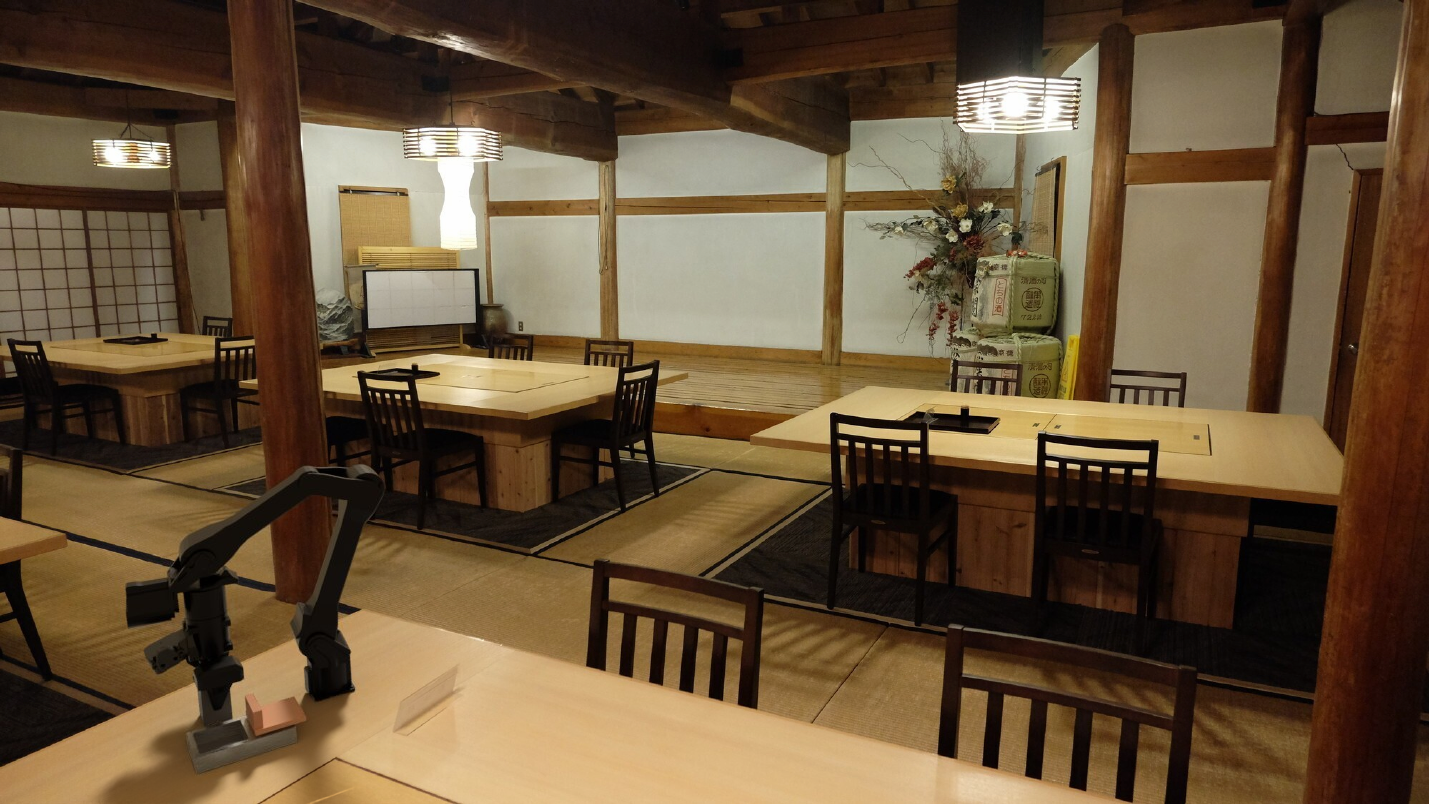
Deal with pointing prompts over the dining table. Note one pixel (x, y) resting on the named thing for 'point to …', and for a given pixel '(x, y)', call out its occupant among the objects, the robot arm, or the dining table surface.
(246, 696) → the salmon l-shaped block
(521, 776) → the dining table surface
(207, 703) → the plug
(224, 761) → the grey rectangular box
